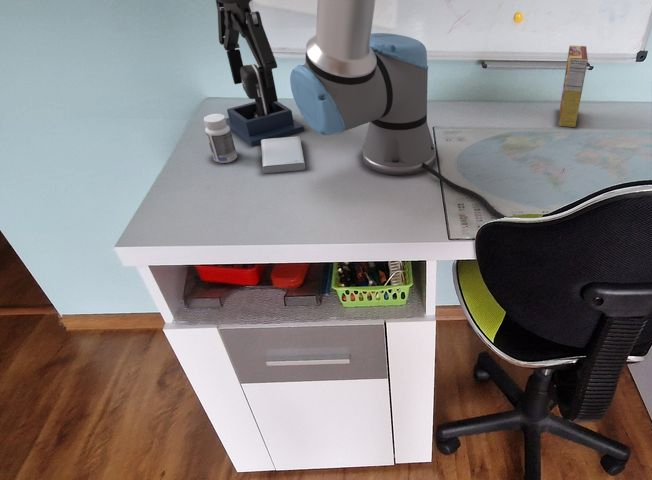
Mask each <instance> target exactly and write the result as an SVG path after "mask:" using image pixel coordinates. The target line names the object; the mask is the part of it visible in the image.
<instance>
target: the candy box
mask: <svg viewBox="0 0 652 480" xmlns="http://www.w3.org/2000/svg"><path fill="white" fill-rule="evenodd" d="M588 60H589V58H588V51H587V46H585V45H575V44H574V45H573V44H571V45H569V47H568V54H567V60H566V66H565V72H564V79H563V85H562V92H561V99H560V104H559V105H560V106H559V119H558V120H559V121H558V126H559V127H568V128H576V125H577V119H578V114H579V109H580V104H581V99H582V93H583V88H584V82H585V77H586V71H587V68H588Z"/></svg>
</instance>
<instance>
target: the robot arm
mask: <svg viewBox="0 0 652 480" xmlns="http://www.w3.org/2000/svg"><path fill="white" fill-rule="evenodd" d="M252 1H253V0H215V5H216V10H217V28H218V30H217V31H218V43H219V44H220V45H221V46H223V49H224V50H225V51H226V56H227V60H228V64H229V68H230V72H231V77H232V80H233V84H234V85H240V84H242V80H241V74H240V68H241V67H242V66H244V62H243V58H242V52H241V50H240V48H241V46H240V44H239V39H240V36H241V37H242V38H243V39H244V40H245V41H246V43H247V45H248V48H249V49H250V51H251V53H252V56H253V58H254V59H255V62H256V65H257V67H258V69H257V71H258V74H259V79H260V83H261V88H262V93H263V98H264V103H265V104H268V103H272V102H276V101H278V102H279V99H278V95H277V88H276V84H275V78H274V74H273V70H274V69H277V68H278V63H277V61H276V58H275V55H274V53H273V50H272V47H271V44H270V42H269V39H268V36H267V34H266V31H265V28H264V25H263V21H262V17H261V14H260V12H259V11H258V10H256V11H252V10H251V6H250V2H252ZM375 7H376V0H317V6H316V28H315V29H316V30H315V35H313V36H312V37H310V38H309V39H308V40H307V42H306V45H305V62H304V64H298V65H296V67H294V68H293V69H291V72H290V75H289V83H290V89H291V93H292V97H293V100H294V103H295V104H296V107H297V109H298V110H299V112H300V114H301V116H302V118H303V119H304V120H305V122H306V123H307V125H309V127H310V128H311V129H312V130H313V131H315V132H316V133H318V134H319V135H322V136H332V135H336V134H343V133H345V132H347V131H349V130H352V129H355V128H357V127H360V126H362V125H365V124H368V126H367V130H366V136H365V141H364V145H363V147H362V159H363V163H364V164H365V166H367V167H368V168H369V169H371V170H372V171H375V172H377V173H379V174H384V175H388V176H411V175H415V174H419V173H422V172H425V171H427V172H429V173H430V174H431V175H432V176H434V177H436V178H437V179H438V180H439V181H440V182H442V183H443V184H445V185H446V186H448V187H449V188H451V189H454V190H455V191H457V192H460V193H462V194H466V195H468V196H471V197H472V198H474V199H475V200H477V201H479V203H481V204H482V206H484V207H485V209H486V210H487V211H488V212H489V213H490V214H491V215H493V216H494V217H496V218H498V219H499V218H504V217H508V216H507V215H505V214H503V213H501V212H500V211H498V210H496V208H494V207H493V206H492V205H491V203H489V201H488V200H487V199H485V197H483V196H482V195H480V194H479V193H477V192H475V191H474V190H471V189H469V188H467V187H463V186H461V185H460V184H459V185H458V184H456V183H455V182H453V181H451V180H450V179H449V178H446V177H445V176H444V175H443V174H441V173H440V172H439V171H437V170H436V169H434V168H433V167H432V166H433V165H434V164H435V162H436V147H435V144H434V141H433V138H432V134H431V130H430V128H429V124H428V82H429V81H428V78H429V77H428V76H429V75H428V74H429V72H428V71H429V65H428V52H427V48H426V46H425V44H423V42H421V41H420V40H418V39H417V38H416V39H415V38H414V37H411V36H406V35H402V34H396V33H389V32H388V33H387V32H373V33H372V29H373V24H374V23H373V22H374V14H375Z"/></svg>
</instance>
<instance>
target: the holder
mask: <svg viewBox="0 0 652 480" xmlns="http://www.w3.org/2000/svg"><path fill="white" fill-rule="evenodd" d="M255 107H256V103H255V101H253V102H249V103H245V104H240V105H237V106H233V107H229V108H227V109H226V111H227V116H228V117H227V118H226V117H225V119H226V123H227V125H228V126H229V127H230V130H231V133H233V134H235V135H236V136H237V137H238V138H240V139H241V140H242V141H244V142H246V143H247V144H248V145H250V147H254V146H256V145H260V144H261V140H263V139H272V138H284V137H288V136H290V135H293V134H297V133H300V132H303V131H305V126H304V125H302V124H301V123H300V122H298V121H296V120H295V119H294V116H293V111H292V109H291V108H289V107H287V106H285V104H283V103H281V102H280V101H279V100H278V101H276V102H272V103H268V107H269V112H270V114H268V115H265V116H261V117H257V118H253V114H254V111H255Z"/></svg>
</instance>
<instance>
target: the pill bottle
mask: <svg viewBox="0 0 652 480" xmlns="http://www.w3.org/2000/svg"><path fill="white" fill-rule="evenodd" d="M203 122H204V125H205V130H204V131H205V135H206V138H207V141H208V145H209V148H210V152H211V155H212V158H213V160H214V161H215V162H216V163H220V164H226V163H231V162H234V161H235V160H236V159H237V158H238V152H237V149H236V146H235V142H234V139H233V135H232V131H231V130H230V127H229V126H228V125H227V123H226V116H225V115H224V114H221V113H211V114H208V115H205V116H204V117H203Z"/></svg>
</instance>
